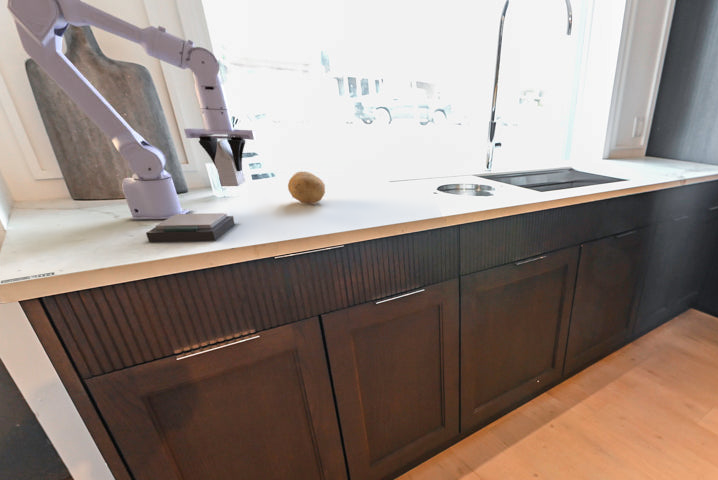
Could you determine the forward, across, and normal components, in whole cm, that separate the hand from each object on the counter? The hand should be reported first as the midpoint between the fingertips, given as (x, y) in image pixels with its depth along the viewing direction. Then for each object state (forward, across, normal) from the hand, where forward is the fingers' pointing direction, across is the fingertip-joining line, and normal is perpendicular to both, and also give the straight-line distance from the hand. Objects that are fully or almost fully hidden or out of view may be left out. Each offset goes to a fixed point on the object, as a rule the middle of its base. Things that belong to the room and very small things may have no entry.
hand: (230, 170), depth 106 cm
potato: (+10, -16, -8) cm, 20 cm away
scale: (+10, +3, +21) cm, 23 cm away
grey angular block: (+3, 0, 0) cm, 3 cm away
